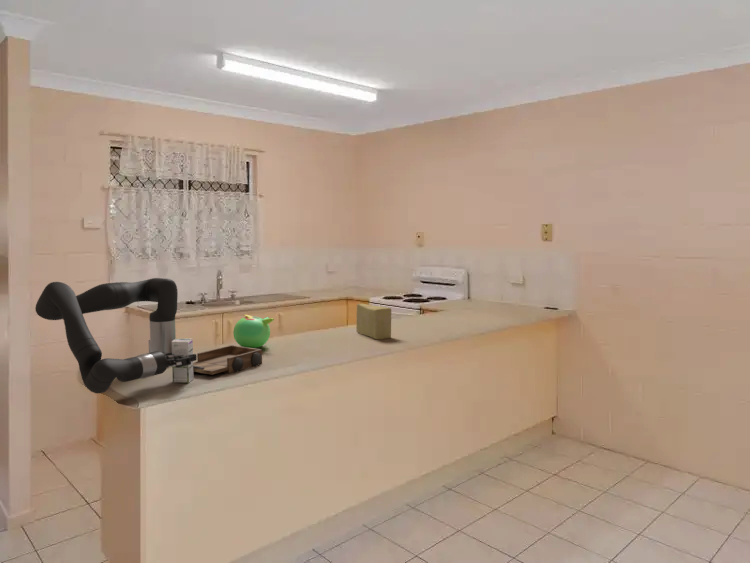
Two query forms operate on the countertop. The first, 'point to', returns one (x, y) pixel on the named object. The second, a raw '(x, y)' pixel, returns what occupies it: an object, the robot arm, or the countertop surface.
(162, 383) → the countertop surface
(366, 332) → the olive rectangular block
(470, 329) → the countertop surface
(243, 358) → the cart
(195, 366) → the tailgate
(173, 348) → the syrup box
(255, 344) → the green ball creature
